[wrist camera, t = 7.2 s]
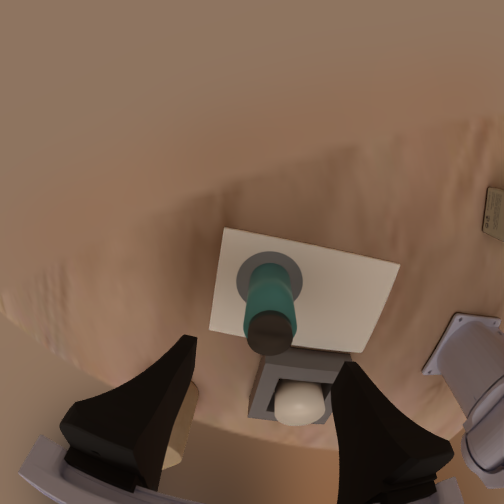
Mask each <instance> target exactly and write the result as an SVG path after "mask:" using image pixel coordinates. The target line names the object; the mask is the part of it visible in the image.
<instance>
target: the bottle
mask: <svg viewBox="0 0 504 504" xmlns="http://www.w3.org/2000/svg"><path fill="white" fill-rule="evenodd" d="M243 331H244V334H245V336H246V338H247V341H248V344H249V346H250V347H251V349H252V350H253V351H255V352H256V353H258V354H261V355H265V356H275V355H279V354H281V353H283V352H285V351H286V350H288V348H289V347H290V346H291V344H292V341H293V338H294V336H295V334H296V331H297V321H296V315H295V308H294V301H293V295H292V289H291V282H290V277H289V274H288V272H287V271H286V269H285V268H283V267H282V266H281V265H278V264H275V263H265V264H262V265H259V266H258V267H257V268H255V269H254V271H253V272H252V274H251V276H250V282H249V289H248V296H247V303H246V309H245V316H244V323H243Z"/></svg>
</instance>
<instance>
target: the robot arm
mask: <svg viewBox="0 0 504 504" xmlns="http://www.w3.org/2000/svg"><path fill="white" fill-rule="evenodd" d="M500 324H501V319H500V318H493V317H485V316H476V315H469V314H461V313H457V314H455V315H454V316H453V318H452V320H451V322H450V324H449V326H448V328H447V330H446V332H445V333H444V335H443V337H442V339H441V341H440V342H439V344H438V346H437V348H436V349H435V351H434V353H433V354H432V356H431V358H430V359H429V361H428V362H427V364H426V365H425V367H424V369H423V370H422V373H423V375H441V374H442V376H443V377H444V379H445V381H446V382H447V384H448V386H449V388H450V389H451V391H452V393H453V394H454V396H455V398H456V400H457V402H458V403H459V405H460V407H461V409H462V411H463V413H464V414H465V416H466V418H467V420H466V421H465V423H464V424H463V427H464V429H465V431H466V432H465V433H464V434H463V436H462V440H461V452H462V456H463V459H464V461H465V463H466V464H467V466H468V468H469V469H470V470H471V471H473V472H474V473H476V474H477V475H478V476H479V477H480V479H481V480H482V482H483V483H484V484H485V486H486V487H487V488H489V489H494V488H504V333H503V332H502V331H501V330H500V329H499V328H498V327H499V326H500ZM196 346H197V337H193V336H189V335H183V336H182V337H181V338H180V339H179V340H178V341H177V342H176V343H175V345H174V346H173V347H172V348H171V349H170V350H169V351H168V352H166V353H165V354H164V355H163V356H162V357H161V358H160V359H159V360H158V361H156V362H155V363H154V364H153V365H151V366H150V367H149V368H148V369H146V370H145V371H144V372H142V373H141V374H139V375H138V376H136V377H135V378H133V379H132V380H130V381H128V382H126V383H124V384H123V385H121V386H119V387H117V388H115V389H113V390H111V391H108V392H106V393H103V394H101V395H98V396H95V397H93V398H89V399H86V400H82V401H78V402H75V403H74V404H73V406H72V407H71V408H70V409H69V410H68V412H67V413H66V415H65V416H64V418H63V419H62V421H61V423H60V430H61V432H62V434H63V435H64V437H65V438H66V440H67V441H68V443H69V444H70V448H69V450H68V451H67V450H66V449H65V448H63V447H62V446H60V445H59V444H57V443H55V442H54V441H52V440H50V439H49V438H47V437H45V436H44V435H40V436H39V437H38V439H37V441H36V442H35V444H34V446H33V447H32V449H31V451H30V452H29V454H28V456H27V457H26V459H25V461H24V463H23V464H22V466H21V468H20V470H19V471H18V473H19V475H20V476H22V477H23V478H24V479H25V480H26V481H27V482H29V483H30V484H31V485H32V486H34V487H35V488H36V489H37V490H39V491H40V492H41V493H43V494H44V495H46V496H47V497H49V498H51V499H52V500H54V501H55V502H57V503H59V504H205V503H199V502H195V501H190V500H186V499H181V498H177V497H173V496H169V495H166V494H162V493H159V492H157V491H158V486H159V481H160V476H161V472H162V468H163V463H164V459H165V455H166V451H167V447H168V443H169V440H170V436H171V432H172V429H173V426H174V423H175V420H176V417H177V415H178V413H179V410H180V408H181V405H182V403H183V400H184V398H185V395H186V393H187V391H188V388H189V386H190V382H191V379H192V375H193V371H194V368H195V357H196ZM330 389H331V406H332V412H333V417H334V422H335V427H336V433H337V438H338V445H339V466H340V467H339V468H340V469H339V491H338V500H337V504H464V501H463V498H462V495H461V492H460V489H459V486H458V483H457V480H456V478H455V477H452V478H449V479H446V480H444V481H442V482H439V483H437V484H435V483H434V480H435V479H437V476H436V472H437V471H439V470H440V469H441V468H442V467H443V466H445V465H446V464H447V463H448V462H449V461H451V459H452V458H453V456H454V451H453V449H452V446H451V444H450V442H449V441H448V440H445V439H443V438H441V437H439V436H436V435H434V434H433V433H431V432H429V431H427V430H425V429H424V428H422V427H421V426H419V425H418V424H416V423H415V422H413V421H412V420H411V419H409V418H408V417H407V416H405V415H404V414H403V413H402V412H401V411H400V410H398V409H397V408H396V407H395V406H394V405H393V404H392V403H391V402H390V401H389V400H388V399H387V398H386V397H385V396H384V395H383V393H382V392H381V391H380V390H379V389H378V388H377V387H376V385H375V384H374V383H373V382H372V381H371V379H370V378H369V377H368V376H367V374H366V373H365V372H364V371H363V370H362V368H361V367H360V366H359V365H358V364H357V363H356V362H351V361H345V362H344V364H343V366H342V368H341V370H340V371H339V373H338V375H337V377H336V379H335V381H334V383H333V384H332V386H331V388H330Z"/></svg>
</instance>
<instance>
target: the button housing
mask: <svg viewBox="0 0 504 504" xmlns="http://www.w3.org/2000/svg"><path fill="white" fill-rule="evenodd" d="M345 361H351V362H352V359H351V356H350V354H343V353H333V352H324V351H316V350H308V349H301V348H294V347H289V348H288V350H286V351H285V352H283V353H281V354H279V355H275V356H265V355H262V358H261V361H260V365H259V368H258V371H257V375H256V378H255V381H254V385H253V388H252V391H251V394H250V398H249V406H248V417H249V418H256V419H264V420H272V421H278V420H277V419H276V418H275V393H273V392H274V390H275V387H276V384H277V382H278V379H279V378H283V379H291V380H299V381H309V382H320V383H321V387H322V393H323V398H324V404H325V413H324V415H323V416H322V417H321V418H320V419H319V420H317V421H315V422H313V423H311V424H325V422H326V421H327V419H328V418H329V416H330V415H331V413H332V406H331V389H330V388H331V386H332V384H333V383H334V381H335V379H336V377H337V375H338V373H339V371H340V370H341V368H342V366H343V364H344V362H345Z"/></svg>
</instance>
